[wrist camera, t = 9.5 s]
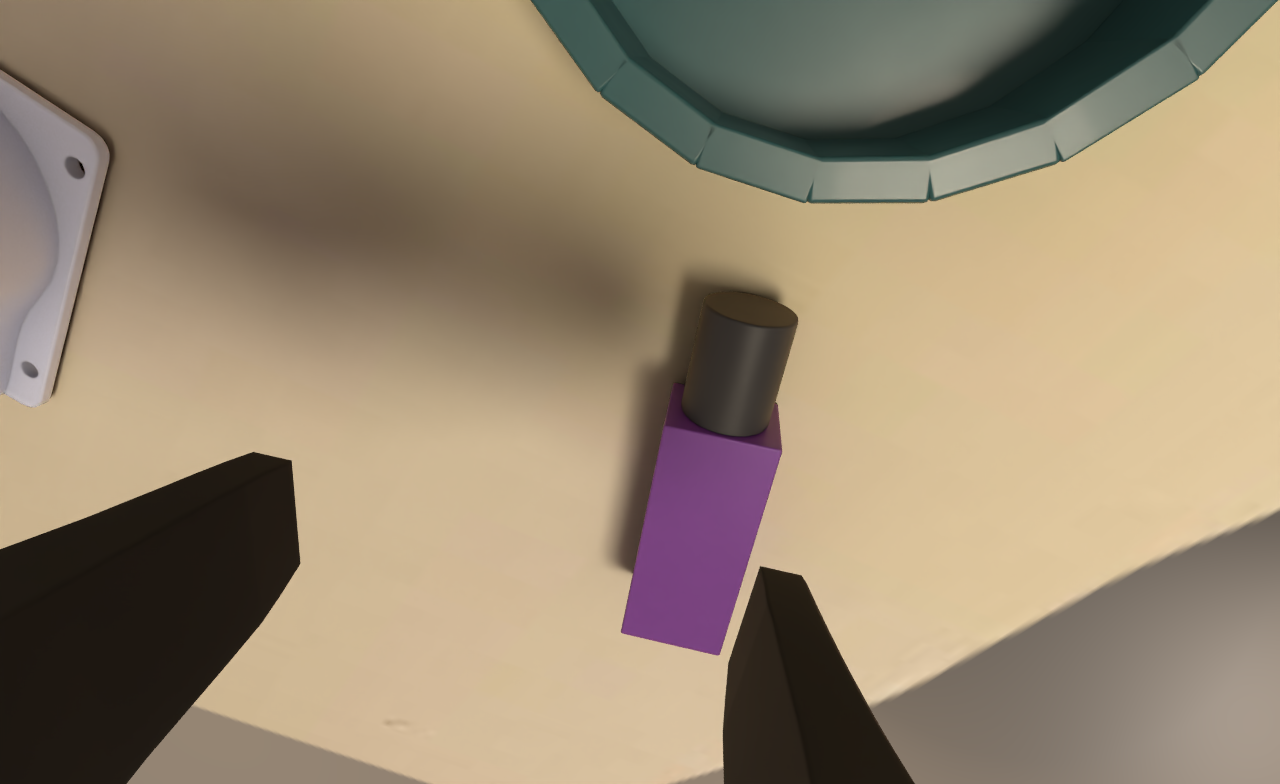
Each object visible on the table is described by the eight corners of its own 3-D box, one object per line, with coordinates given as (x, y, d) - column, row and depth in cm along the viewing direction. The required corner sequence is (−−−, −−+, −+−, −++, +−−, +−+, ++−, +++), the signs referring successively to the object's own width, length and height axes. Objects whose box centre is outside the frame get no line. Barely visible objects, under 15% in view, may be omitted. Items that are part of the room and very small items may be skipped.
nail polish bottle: (722, 595, 21) (719, 656, 18) (633, 575, 21) (620, 633, 19) (807, 303, 16) (816, 339, 14) (694, 280, 16) (686, 313, 14)
